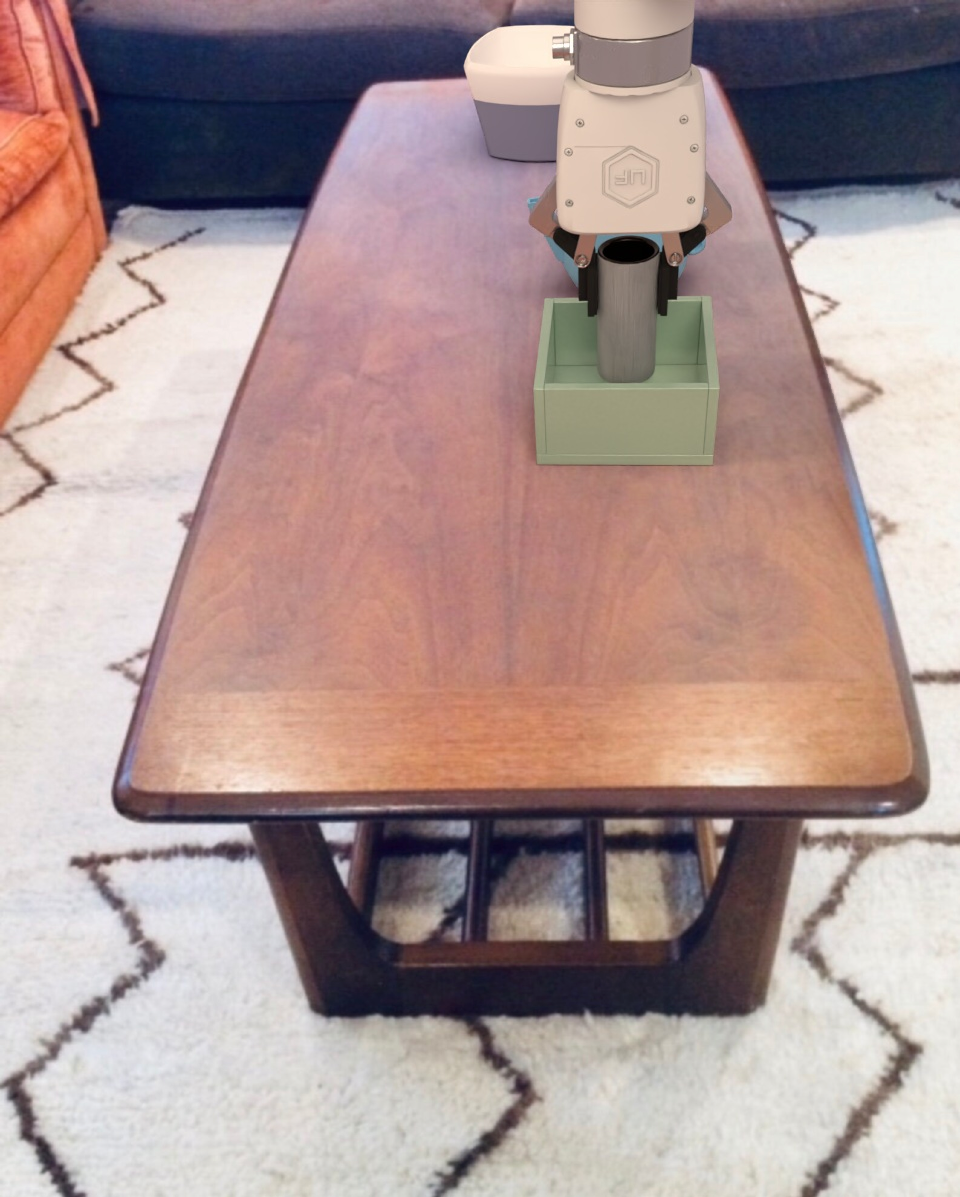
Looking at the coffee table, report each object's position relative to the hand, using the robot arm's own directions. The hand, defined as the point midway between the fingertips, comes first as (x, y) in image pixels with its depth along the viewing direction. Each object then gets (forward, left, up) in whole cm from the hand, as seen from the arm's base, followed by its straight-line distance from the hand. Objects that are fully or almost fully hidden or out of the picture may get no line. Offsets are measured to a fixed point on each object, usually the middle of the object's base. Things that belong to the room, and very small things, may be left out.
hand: (627, 305), depth 83 cm
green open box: (0, 0, -10) cm, 10 cm away
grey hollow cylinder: (0, 0, -6) cm, 6 cm away
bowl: (+11, -57, -10) cm, 59 cm away
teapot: (+1, -22, -10) cm, 24 cm away
